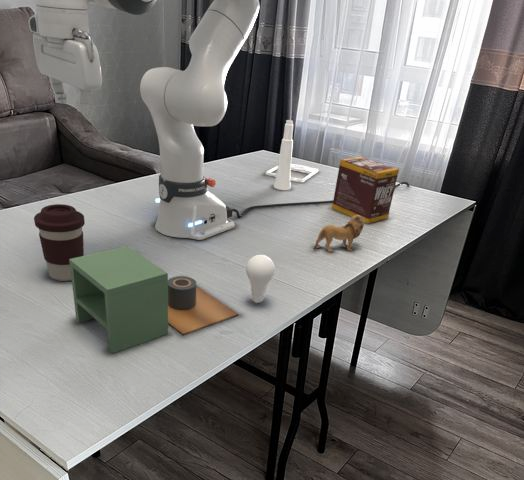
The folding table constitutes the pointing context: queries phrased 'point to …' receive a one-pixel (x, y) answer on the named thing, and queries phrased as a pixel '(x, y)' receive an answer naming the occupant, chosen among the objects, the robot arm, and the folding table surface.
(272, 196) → the folding table surface
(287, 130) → the white tapered tower
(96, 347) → the folding table surface
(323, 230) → the lion figurine
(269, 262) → the lightbulb
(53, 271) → the coffee cup
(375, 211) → the supplement box
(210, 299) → the copper sheet
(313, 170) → the photo frame
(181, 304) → the tape roll
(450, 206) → the folding table surface
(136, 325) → the shelf
